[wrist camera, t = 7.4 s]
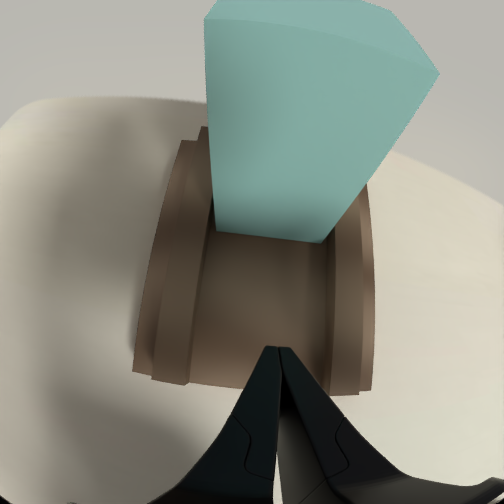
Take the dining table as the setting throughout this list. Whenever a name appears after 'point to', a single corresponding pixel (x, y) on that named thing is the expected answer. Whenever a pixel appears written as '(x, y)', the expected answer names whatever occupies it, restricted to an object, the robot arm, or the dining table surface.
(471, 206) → the dining table surface
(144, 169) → the dining table surface
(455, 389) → the dining table surface
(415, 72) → the block
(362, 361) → the chute
